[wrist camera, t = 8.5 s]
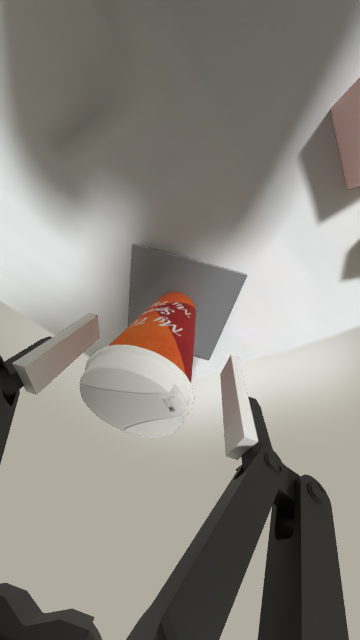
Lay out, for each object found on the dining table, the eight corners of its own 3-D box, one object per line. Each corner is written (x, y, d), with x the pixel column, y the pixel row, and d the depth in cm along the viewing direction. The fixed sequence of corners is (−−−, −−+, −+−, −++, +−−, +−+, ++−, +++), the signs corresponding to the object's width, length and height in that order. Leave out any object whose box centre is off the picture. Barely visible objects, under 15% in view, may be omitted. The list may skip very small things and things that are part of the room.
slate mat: (135, 243, 19) (132, 244, 18) (246, 273, 18) (247, 275, 17) (129, 333, 26) (127, 335, 25) (209, 356, 25) (209, 360, 25)
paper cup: (193, 275, 19) (158, 349, 6) (210, 327, 22) (208, 443, 10) (140, 293, 21) (43, 371, 9) (162, 338, 24) (112, 440, 12)
